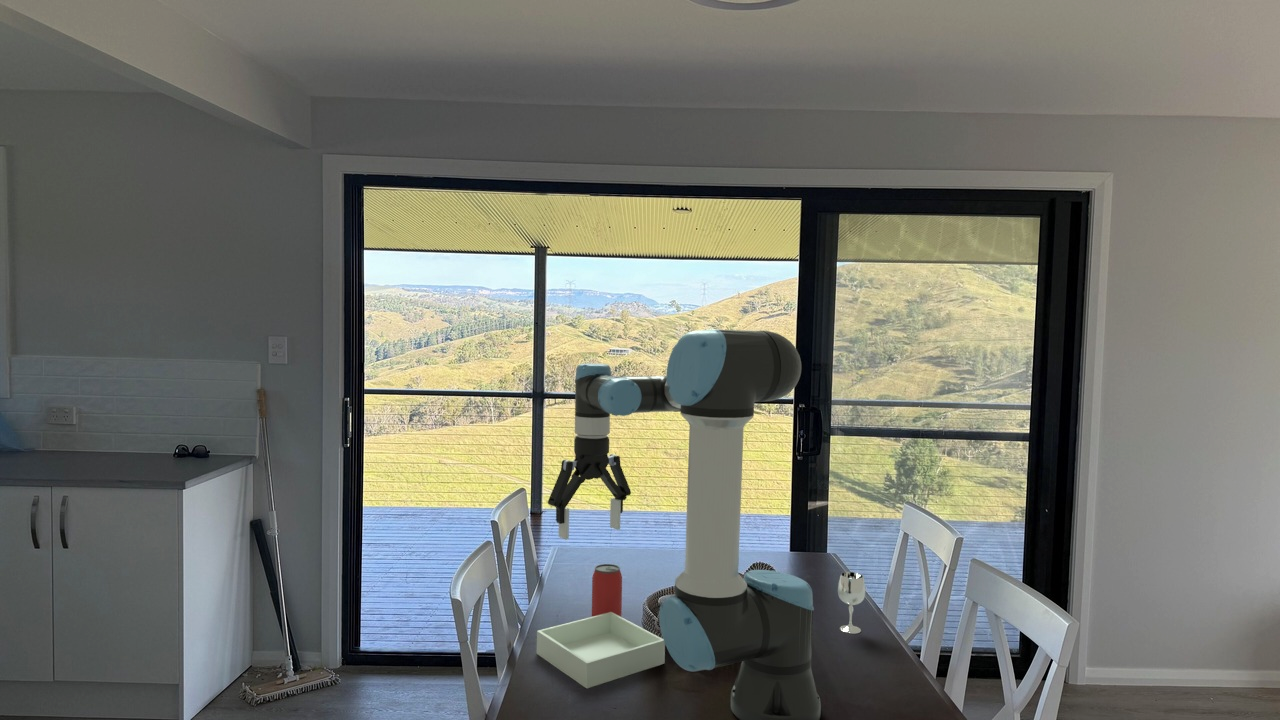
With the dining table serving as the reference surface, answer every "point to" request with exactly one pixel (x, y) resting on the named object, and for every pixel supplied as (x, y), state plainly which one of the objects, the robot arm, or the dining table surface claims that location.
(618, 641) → the bin
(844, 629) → the wineglass
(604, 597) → the beer can
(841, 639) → the dining table surface
